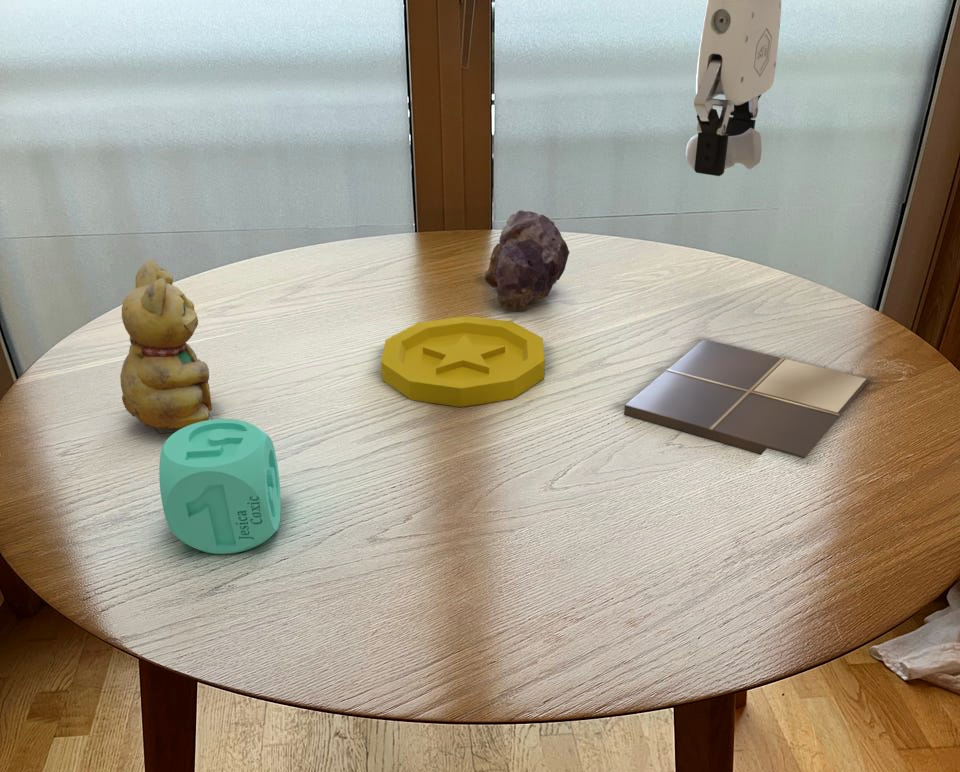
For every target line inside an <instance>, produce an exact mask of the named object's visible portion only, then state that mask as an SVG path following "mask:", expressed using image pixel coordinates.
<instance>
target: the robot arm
mask: <svg viewBox="0 0 960 772" xmlns="http://www.w3.org/2000/svg"><path fill="white" fill-rule="evenodd" d="M781 16H782V0H707V1H706V7H705V12H704V19H703V23H702V31H701V36H700V43H699V52H698V59H697V67H696V78H695V79H696V80H695V81H696V82H695V97H694V100H693V107H694V109H695V112H696V119H697V126H696V132H697V134H698V140H697V150H696V159H695V170H694V172H695V173H697V174H701V175H702V174H703V175H708V176H714V177H715V176H716V177H721V176H723V175H724V173H725V161H726V153H727V145H728V137H729V136H737V135H740V134H743V133H745V132H746V131H747V130H748V129H750V128H752V129H754V130H755V126H756V122H757V121H756V118H757V117H758V113H759V100H760V98H761V97H762V95H763V94H765V93H766V92H767V91H769V90H770V89H771V88H772V86H773V85H774V81H775V74H776V69H777V67H776V66H777V60H778V59H777V58H778V48H779V39H780V29H781ZM720 95H721V96H722V95H723V96H724V98H725V99H720V98H715V97H717V96H720ZM716 108H719V109H721V111H720V115H719V113H718V111H717V109H716Z"/></svg>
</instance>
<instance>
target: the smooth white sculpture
mask: <svg viewBox="0 0 960 772" xmlns="http://www.w3.org/2000/svg"><path fill="white" fill-rule="evenodd" d="M697 140H698V133H696V134H694V135H693V136H692V137H690V139H689V140H688V142H687V143H686V144H687V145H686V148H685V159H686V162H687V164H688V166H689V167H690V168H691V169H692V170H693V171H695V159H696V150H697ZM761 159H762V137H761V132H759V131H758V130H756V129H755V128H754V129H752V128H750V129H748V130H747V131H746V132H745V133H743V134H740V135H737V136H729V137H728V145H727V153H726V161H725V169H729V168H732V167H734V166H735V165H736V164H741V165H743V166H744V167H745V168H747V170H751V169H753V168H754V167H757V165H758V164H760V162H761ZM725 169H724V170H725Z"/></svg>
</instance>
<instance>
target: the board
mask: <svg viewBox="0 0 960 772" xmlns="http://www.w3.org/2000/svg"><path fill="white" fill-rule="evenodd" d="M870 380H871V379H870V378H865V377H861V376H857V375H853V374H849V373H846V372H842V371H836V370H832V369H829V368H826V367H820V366H817V365H812V364H807V363H804V362H800V361H797V360H796V361H795V360H792V359H788V358H786V357H783V356H782V357H779V356H775V355H771V354H768V353H763V352H760V351H759V352H758V351H755V350H750V349H746V348H743V347H739V346H734V345H731V344H726V343H721V342H718V341H714V340H709V339H705V338H703V339H701V341H699V343H697V344H696V345H694V347H692V348H691V349H690V350H689V351H688V352H686V353H685V354H683V356H682V357H680V359H678V360H677V361H676V362H674V363H673V364H672V365H671V366H669V367H668V368H666V369H665V371H664V372H662V374H660V375H659V376H658V377H657V378H655V379H654V380H653V381H652V382H650V383H649V384H648V385H647V386H646V387H644V388H643V389H642V390H641V391H639V392H638V394H636V395H635V396H634V397H632V398H631V399H630V400H629V401H628V402H627V403H626V404H624V408H623V409H624V410H623V414H624V415H626V416H629V417H633V418H636V419H639V420H643V421H645V422H646V421H647V422H649V423H654V424H657V425H660V426H664V427H667V428H670V429H675V430H678V431H682V432H684V433H688V434H691V435H694V436H699V437H701V438H705V439H708V440H712V441H715V442H718V443H722V444H725V445H729V446H733V447H736V448H740V449H743V450H746V451H750V452H753V453H756V454H761V455H763V453H764V452H765V451H766V450H767V449H769V450H772V451H777V452H779V453H783V454H787V455H789V456H794V457H797V458H801V459H806V457H807V456H808V455H809V454H810V453H811V452H812V450H813V449H814V448H815V446H817V444H818V443H819V442H820V441H821V440H822V438H823V437H824V436H825V435H826V434H827V432H828V431H829V430H830V429H831V428H832V427H833V426H834V424H835V423H836V422H837V421H838V420H839V418H841V416H842V415H843V413H844V412H845V411H846V410H848V407H850V405H851V404H852V403H853V402H854V400H855V399H856V398H857V397H858V396H859V394H860V393H862V391H863V390H864V389H865V388H866V386H867V385H868V384H869V383H870Z"/></svg>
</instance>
